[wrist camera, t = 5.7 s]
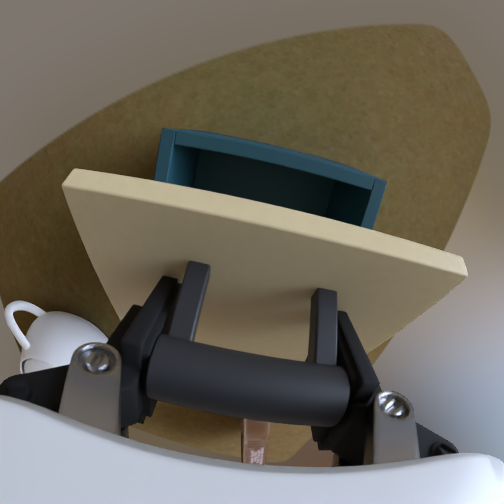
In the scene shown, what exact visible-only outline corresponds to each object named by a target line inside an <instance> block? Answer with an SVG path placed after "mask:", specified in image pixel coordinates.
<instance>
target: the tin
mask: <svg viewBox="0 0 504 504" xmlns="http://www.w3.org/2000/svg"><path fill="white" fill-rule="evenodd" d="M268 440H269V422H265V421H257V420H250V419H243V418H241V457H242V463H249V464H259V465H265V460H266V454H267V447H268Z"/></svg>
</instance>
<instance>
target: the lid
mask: <svg viewBox="0 0 504 504" xmlns="http://www.w3.org/2000/svg"><path fill="white" fill-rule="evenodd" d="M62 189H63V192H64V195H65V198H66V200H67V203H68V206H69V209H70V211H71V214H72V217H73V219H74V222H75V224H76V227H77V229H78V232H79V234H80V237H81V239H82V242H83V244H84V246H85V249H86V251H87V253H88V256H89V258H90V260H91V262H92V264H93V267H94V269H95V271H96V273H97V275H98V277H99V279H100V281H101V284H102V286H103V288H104V290H105V292H106V294H107V296H108V298H109V300H110V301H111V303H112V305H113V307H114V309H115V311H116V313H117V315H118V317H119V318H120V320H121V321H122V319H123V318H124V316H125V315H126V313H127V312H128V311H129V309H130V308H131V306H132V305H134V304H135V305H139V306H143V305H144V303H145V301H146V300H147V298H148V297H149V295H150V294H151V292H152V291H153V289H154V288H155V286H156V285H157V283H158V282H159V280H160V279H161V277H162V276H168V277H172V278H177V279H178V283H181V287H180V291H179V294H178V297H177V301H176V304H175V308H174V311H173V315H172V318H171V322H170V325H169V329H168V332H167V335H166V334H161V335H159V337H158V338H157V340H156V342H155V344H154V347H153V349H152V352H151V356H150V359H149V364H148V368H147V374H146V395H147V397H149V398H151V399H155V400H158V401H162V402H166V403H170V404H174V405H178V406H182V407H186V408H190V409H195V410H200V411H204V412H209V413H214V414H220V415H225V416H231V417H237V418H243V419H250V420H257V421H265V422H273V423H283V424H293V425H306V426H324V427H332V426H335V425H337V424H338V423H339V422H340V421H341V419H342V418H343V416H344V413H345V411H346V408H347V405H348V400H349V392H350V385H349V377H348V374H347V372H346V370H345V369H344V368H343V367H341V366H337V310H339V311H345V312H346V313H347V314H348V316H349V318H350V320H351V323H352V325H353V327H354V329H355V331H356V333H357V335H358V337H359V339H360V341H361V343H362V345H363V348H364V350H365V352H366V354H367V353H368V352H370V351H371V350H373V349H374V348H376V347H377V346H379V345H380V344H382V343H383V342H385V341H386V340H388V339H389V338H390V337H392V336H393V335H395V334H396V333H398V332H399V331H400V330H402V329H403V328H404V327H406V326H407V325H409V324H410V323H411V322H413V321H414V320H415V319H417V318H418V317H419V316H421V315H422V314H423V313H424V312H426V311H427V310H428V309H430V308H431V307H432V306H433V305H435V304H436V303H437V302H438V301H439V300H441V299H442V298H443V297H444V296H446V295H447V294H448V293H449V292H450V291H451V290H453V289H454V288H455V287H456V286H457V285H459V284H460V283H461V282H462V281H463V280H464V279H465V278H466V277H467V276H468V274H467V270H466V267H465V264H464V261H463V258H462V257H460V256H457V255H454V254H451V253H448V252H445V251H441V250H438V249H435V248H432V247H429V246H425V245H422V244H419V243H415V242H412V241H409V240H405V239H402V238H398V237H395V236H392V235H388V234H385V233H381V232H377V231H374V230H370V229H367V228H363V227H359V226H355V225H352V224H348V223H344V222H340V221H337V220H333V219H329V218H325V217H321V216H317V215H313V214H309V213H305V212H301V211H297V210H292V209H288V208H284V207H280V206H275V205H271V204H267V203H262V202H258V201H253V200H249V199H244V198H239V197H235V196H230V195H225V194H220V193H216V192H211V191H206V190H201V189H196V188H190V187H185V186H180V185H175V184H169V183H164V182H158V181H152V180H147V179H141V178H135V177H129V176H123V175H116V174H110V173H104V172H97V171H90V170H83V169H76V168H75V169H73V170H72V172H71V173H70V174H69V176H68V177H67V178H66V179H65V181H64V182H63V183H62ZM307 356H308V359H307V362H305V360H306V358H307Z"/></svg>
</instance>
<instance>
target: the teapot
mask: <svg viewBox="0 0 504 504" xmlns="http://www.w3.org/2000/svg"><path fill="white" fill-rule="evenodd" d="M17 310H25V311H28V312H31V313H33V314H34V315H36V316H37V317H38V318H37V319H35V320H34V321H33V323H32V324H31V326H30V328H29V330H28V332H27V334H26V336H24V335H23V333H22V332H21V330H20V329H19V327H18V325H17V324H16V322H15V320H14V317H13V312H15V311H17ZM4 317H5V320H6V323H7V325H8V327H9V328H10V330H11V332H12V333H13V335H14V336H15V338H16V339H17V341H18V342H19V343H20V345H21V346H22V351H21V358H20V372H21V374H24V373H30V372H35V371H40V370H45V369H49V368H54V367H59V366H63V365H68V364H70V361H71V357H72V355H73V353H74V351H75V350H76V349H77V348H78V347H79V346H81V345H83V344H86V343H90V342H101V343H105V344H106V343H107V341H108V340H109V339H108V338H107V337H106V336H105V335H104V334H103V332H101V331H100V330H99V329H98V328H97V327H96V326H94V325H93V324H92V323H90V322H89V321H87V320H85V319H83V318H81V317H79V316H76V315H74V314H71V313H67V312H62V311H51V312H47V313H46V312H45V311H44V310H42V309H41V308H39V307H37V306H36V305H33V304H31V303H28V302H25V301H14V302H11V303H10V304H8V305H7V306H6V308H5V310H4Z"/></svg>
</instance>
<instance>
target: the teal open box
mask: <svg viewBox="0 0 504 504" xmlns="http://www.w3.org/2000/svg"><path fill="white" fill-rule="evenodd" d="M154 181H158V182H164V183H169V184H175V185H180V186H185V187H190V188H196V189H201V190H206V191H211V192H216V193H220V194H225V195H230V196H235V197H239V198H244V199H249V200H253V201H258V202H262V203H267V204H271V205H275V206H280V207H284V208H288V209H292V210H297V211H301V212H305V213H309V214H313V215H317V216H321V217H325V218H329V219H333V220H337V221H340V222H344V223H348V224H352V225H355V226H359V227H363V228H367V229H370V230H372V229H373V226H374V223H375V220H376V217H377V214H378V211H379V207H380V204H381V201H382V198H383V194H384V191H385V188H386V184H387V181H385V180H383V179H380V178H378V177H375V176H373V175H370V174H368V173H365V172H363V171H360V170H358V169H355V168H353V167H350V166H347V165H344V164H341V163H338V162H334V161H331V160H328V159H324V158H320V157H317V156H313V155H310V154H306V153H302V152H298V151H294V150H290V149H286V148H282V147H278V146H274V145H269V144H265V143H261V142H256V141H251V140H247V139H242V138H237V137H232V136H227V135H221V134H216V133H210V132H204V131H198V130H185V129H166V128H163V129H162V133H161V139H160V144H159V150H158V156H157V163H156V169H155V176H154Z"/></svg>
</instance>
